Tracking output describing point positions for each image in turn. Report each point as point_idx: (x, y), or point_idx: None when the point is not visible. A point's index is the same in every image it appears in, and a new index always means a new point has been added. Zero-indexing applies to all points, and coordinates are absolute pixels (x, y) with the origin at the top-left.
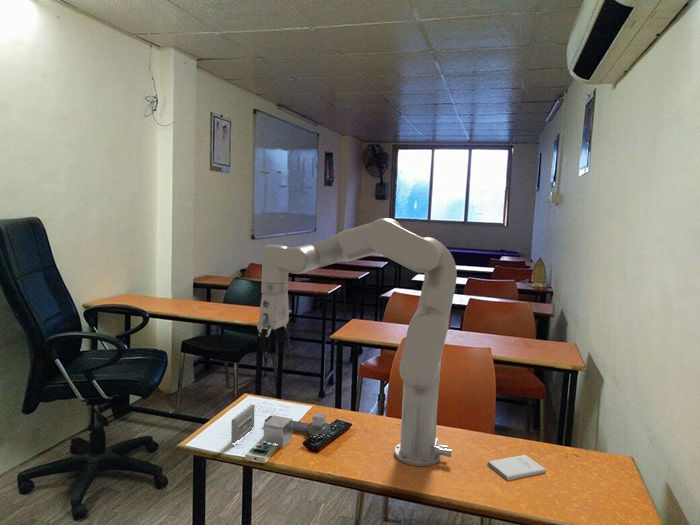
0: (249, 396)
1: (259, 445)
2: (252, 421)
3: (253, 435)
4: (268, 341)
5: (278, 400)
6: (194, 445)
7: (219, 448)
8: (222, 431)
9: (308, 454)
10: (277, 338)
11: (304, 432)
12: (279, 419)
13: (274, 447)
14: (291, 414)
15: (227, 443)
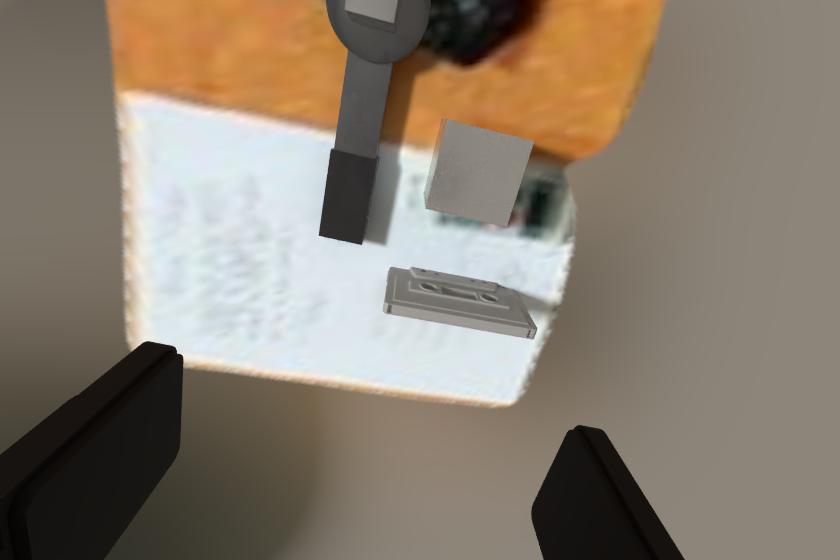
0: None
1: None
2: (404, 280)
3: (436, 255)
4: (659, 537)
5: (131, 245)
6: (515, 386)
7: None
8: (424, 348)
9: (557, 25)
10: (160, 456)
11: (391, 75)
12: (462, 174)
13: None
14: (239, 165)
15: None
